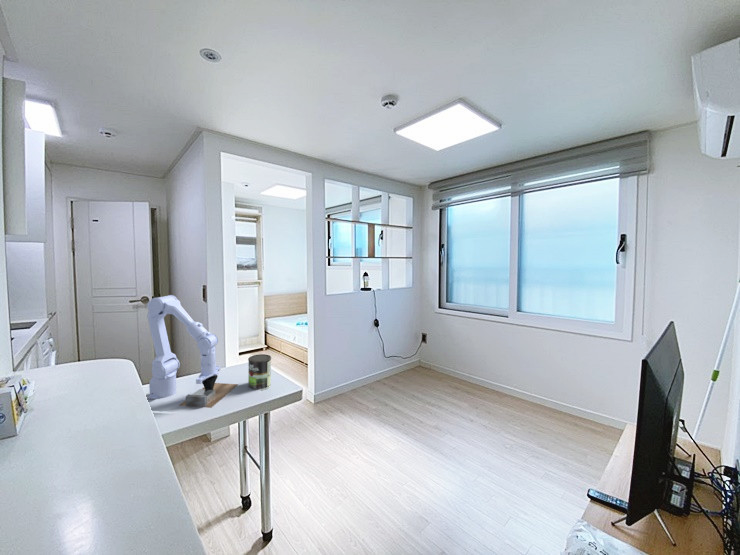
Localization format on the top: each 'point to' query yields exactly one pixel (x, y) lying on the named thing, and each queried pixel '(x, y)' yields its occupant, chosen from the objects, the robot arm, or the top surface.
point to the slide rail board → (218, 393)
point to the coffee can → (259, 371)
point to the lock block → (206, 394)
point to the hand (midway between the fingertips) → (209, 392)
